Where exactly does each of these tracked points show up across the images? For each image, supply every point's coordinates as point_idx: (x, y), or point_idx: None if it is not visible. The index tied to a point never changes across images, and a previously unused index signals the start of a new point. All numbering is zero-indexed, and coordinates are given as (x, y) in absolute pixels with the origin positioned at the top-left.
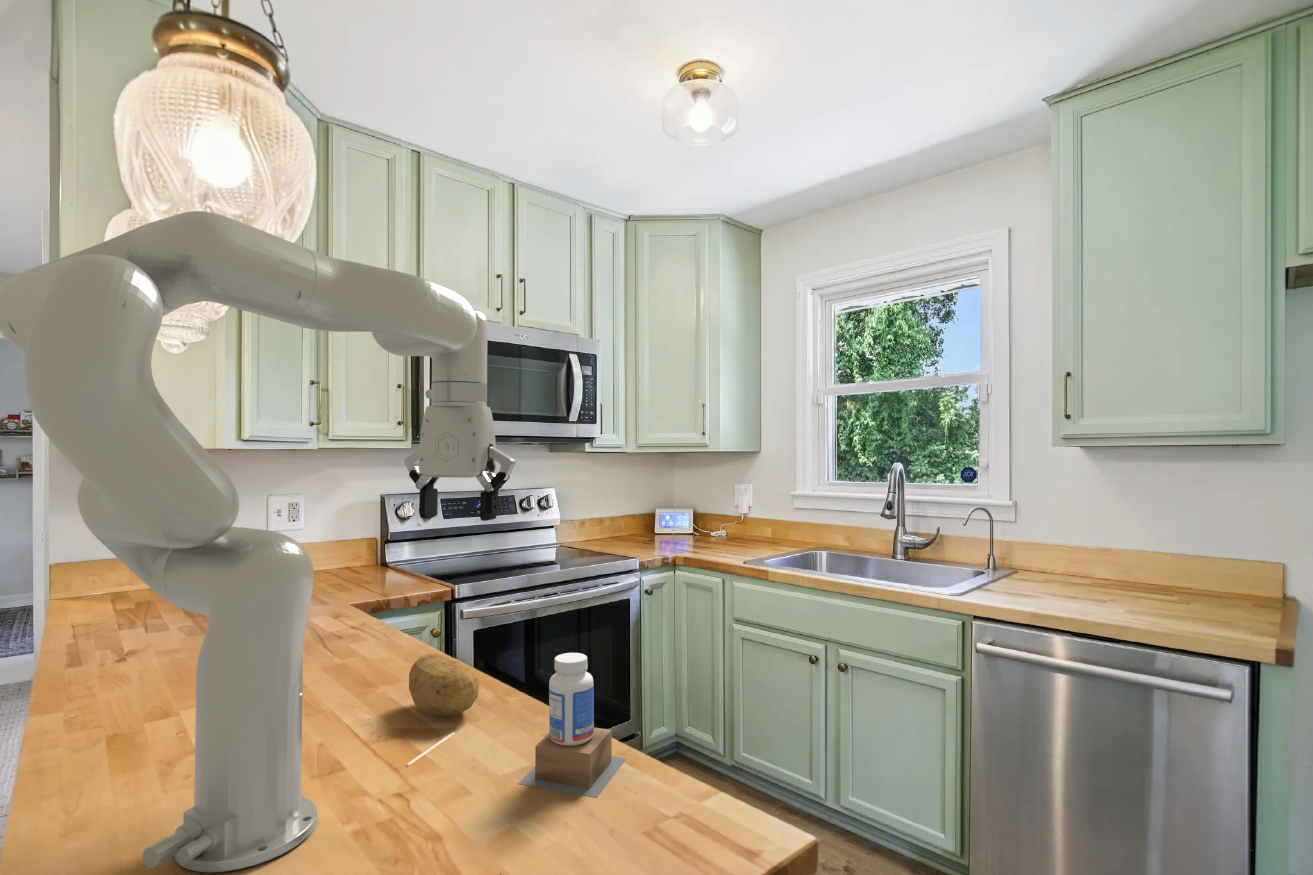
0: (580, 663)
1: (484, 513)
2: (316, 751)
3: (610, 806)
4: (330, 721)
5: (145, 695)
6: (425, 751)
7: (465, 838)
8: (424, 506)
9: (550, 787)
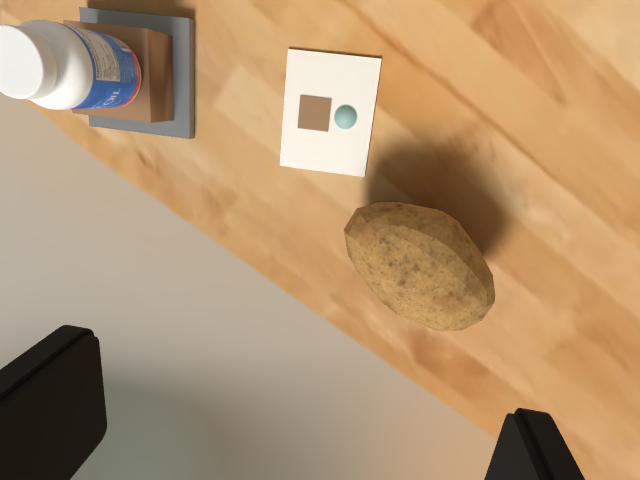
0: None
1: (36, 345)
2: (554, 73)
3: (72, 14)
4: (591, 185)
5: None
6: (374, 105)
7: None
8: (539, 471)
9: (143, 18)
